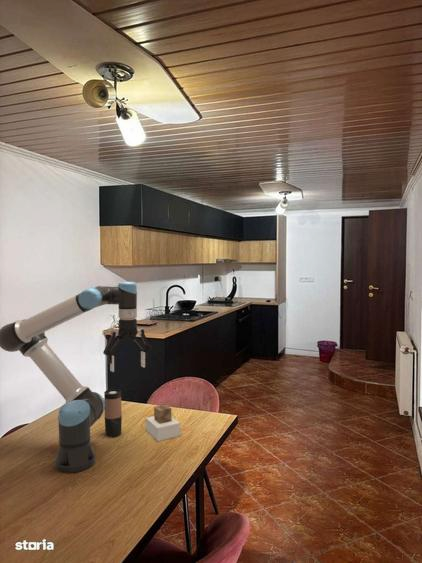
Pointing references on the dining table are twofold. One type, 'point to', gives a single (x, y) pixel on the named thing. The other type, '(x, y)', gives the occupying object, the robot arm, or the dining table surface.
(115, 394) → the travel mug
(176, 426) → the white block
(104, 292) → the robot arm
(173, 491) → the dining table surface
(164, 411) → the walnut cube
